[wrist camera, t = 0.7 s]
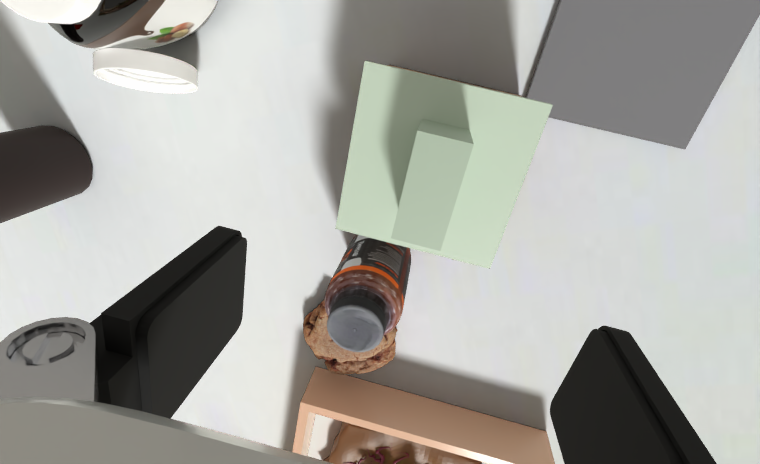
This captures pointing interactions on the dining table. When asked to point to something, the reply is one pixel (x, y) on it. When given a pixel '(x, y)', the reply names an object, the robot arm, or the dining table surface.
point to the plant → (385, 449)
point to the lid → (436, 162)
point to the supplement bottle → (367, 293)
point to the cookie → (342, 358)
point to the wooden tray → (417, 421)
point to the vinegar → (40, 169)
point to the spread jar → (127, 36)
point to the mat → (640, 63)
